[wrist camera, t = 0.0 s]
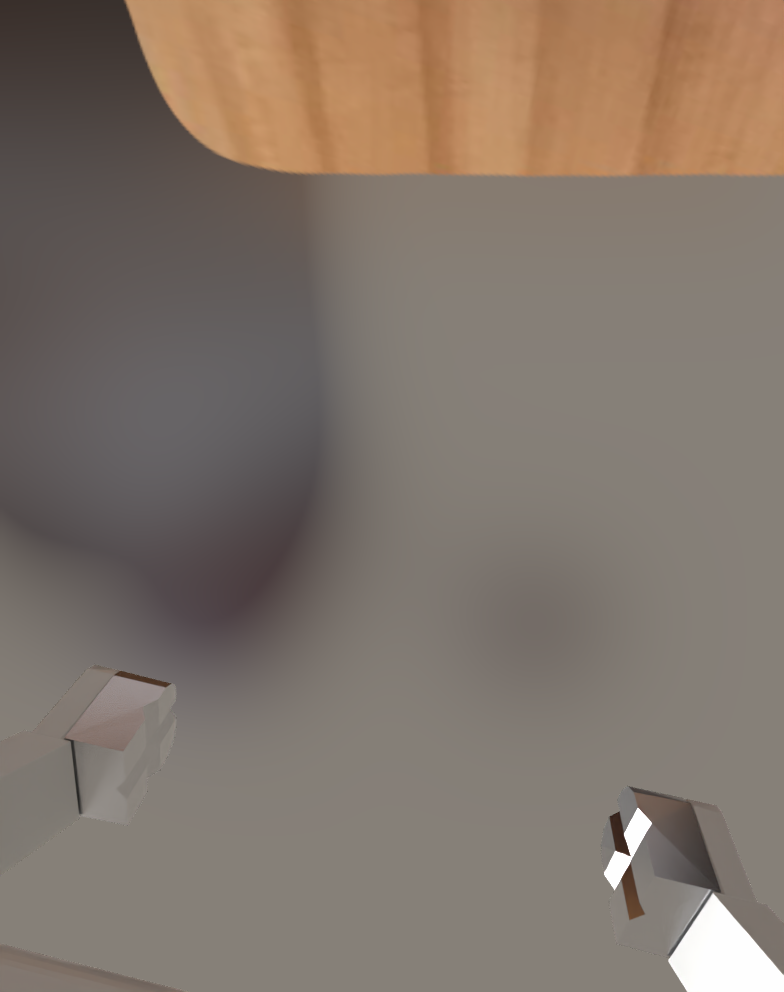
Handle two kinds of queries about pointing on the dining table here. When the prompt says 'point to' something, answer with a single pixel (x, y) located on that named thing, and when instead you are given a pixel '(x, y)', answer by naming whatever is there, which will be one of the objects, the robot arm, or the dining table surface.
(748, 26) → the dining table surface
